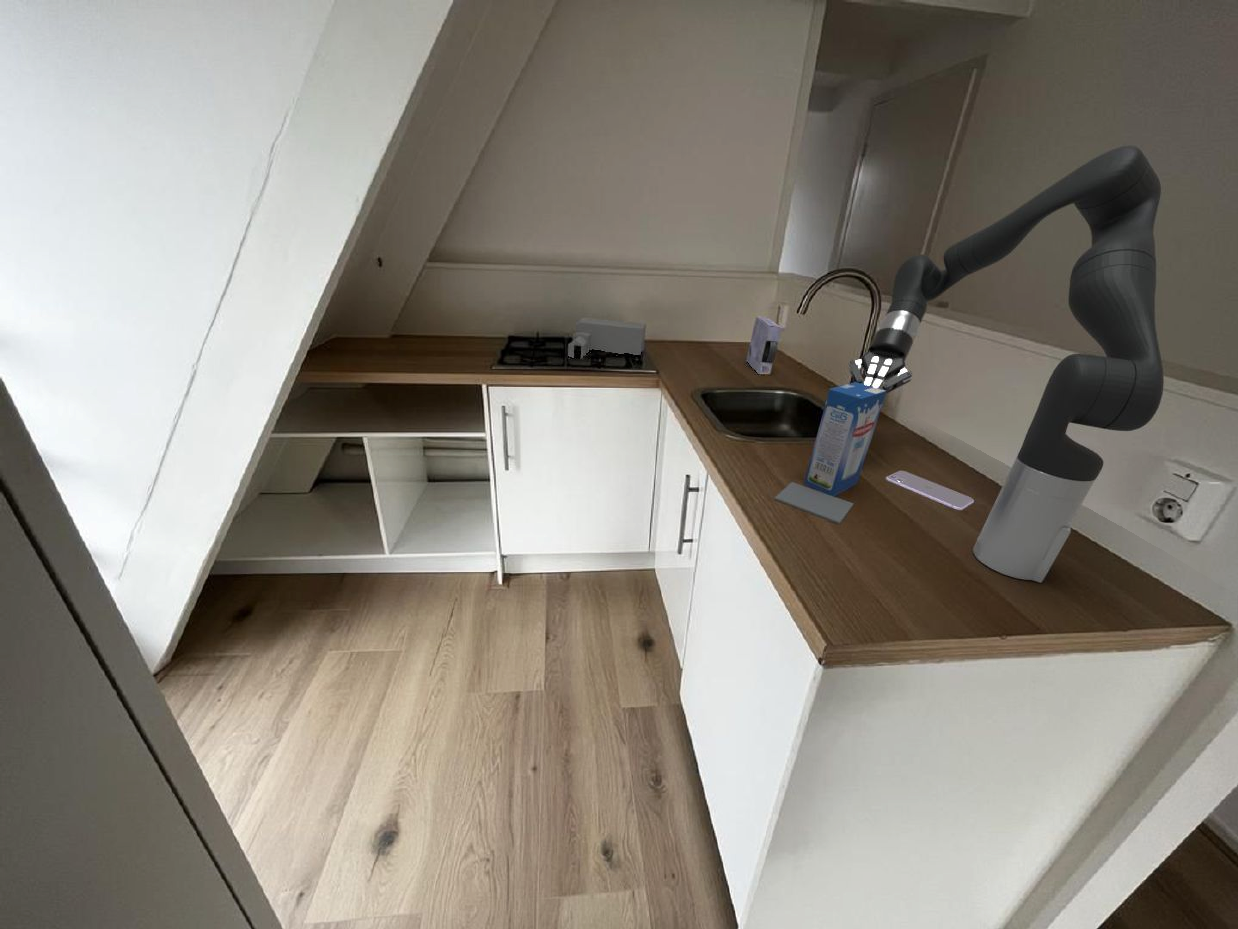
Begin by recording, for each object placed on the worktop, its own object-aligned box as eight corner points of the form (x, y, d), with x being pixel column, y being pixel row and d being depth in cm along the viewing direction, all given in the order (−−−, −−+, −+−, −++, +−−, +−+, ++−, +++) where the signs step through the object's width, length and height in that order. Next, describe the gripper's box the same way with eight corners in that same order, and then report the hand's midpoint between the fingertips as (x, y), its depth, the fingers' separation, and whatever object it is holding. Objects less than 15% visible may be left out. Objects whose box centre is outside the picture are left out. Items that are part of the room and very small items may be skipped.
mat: (853, 505, 92) (853, 503, 92) (839, 524, 86) (840, 522, 86) (791, 483, 99) (791, 481, 99) (774, 499, 92) (774, 497, 92)
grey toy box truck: (567, 358, 176) (567, 327, 171) (581, 345, 197) (582, 317, 192) (635, 366, 173) (638, 335, 168) (643, 351, 194) (645, 323, 189)
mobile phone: (961, 508, 93) (884, 476, 104) (959, 512, 94) (883, 480, 104) (976, 498, 98) (901, 468, 108) (974, 502, 98) (900, 472, 109)
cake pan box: (772, 377, 173) (783, 326, 165) (758, 376, 172) (768, 325, 165) (757, 363, 190) (767, 316, 182) (745, 362, 190) (754, 315, 182)
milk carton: (828, 472, 105) (855, 381, 96) (856, 483, 101) (887, 390, 92) (803, 484, 99) (829, 388, 90) (832, 497, 95) (861, 398, 86)
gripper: (926, 354, 105) (896, 422, 101) (861, 343, 112) (831, 406, 108) (931, 332, 98) (899, 403, 95) (862, 321, 105) (830, 387, 102)
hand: (863, 404), depth 101 cm, fingers closed
